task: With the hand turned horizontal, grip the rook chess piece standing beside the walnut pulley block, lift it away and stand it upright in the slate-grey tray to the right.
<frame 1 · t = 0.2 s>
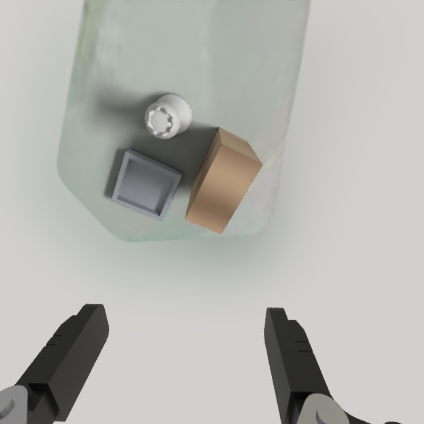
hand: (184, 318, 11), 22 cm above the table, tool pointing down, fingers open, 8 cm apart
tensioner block: (219, 163, 30), on the table
rook chess piece: (174, 114, 27), on the table
tray: (148, 184, 31), on the table
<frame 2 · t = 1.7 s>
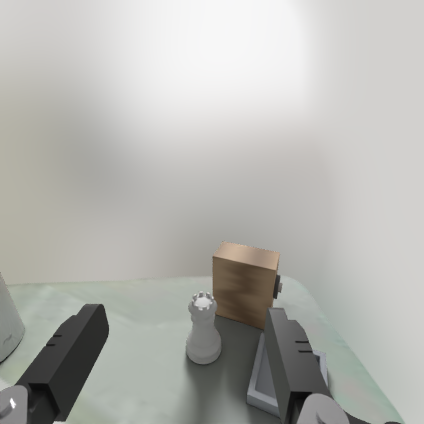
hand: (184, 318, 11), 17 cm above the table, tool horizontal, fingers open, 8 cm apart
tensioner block: (242, 311, 33), on the table
rook chess piece: (203, 350, 28), on the table
tray: (287, 380, 25), on the table
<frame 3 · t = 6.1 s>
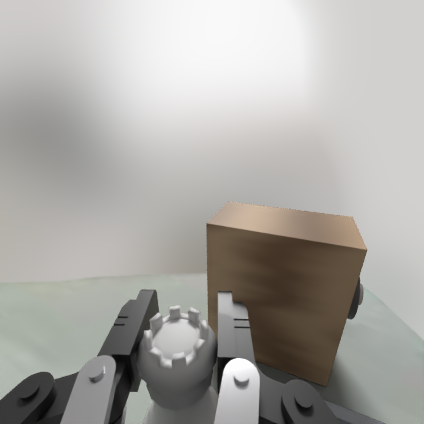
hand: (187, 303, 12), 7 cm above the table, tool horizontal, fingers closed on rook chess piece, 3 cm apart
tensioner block: (266, 339, 17), on the table
when the fingers open (8 cm above the table, at t = 10.3 s): rook chess piece stays where it is, resting on tray.
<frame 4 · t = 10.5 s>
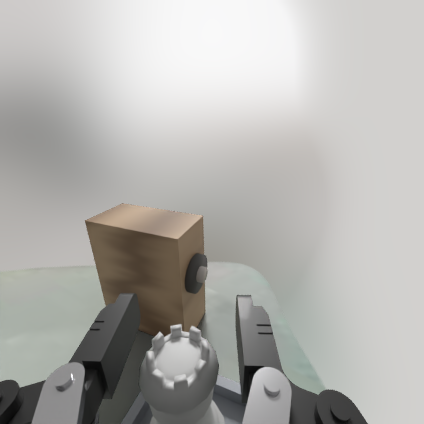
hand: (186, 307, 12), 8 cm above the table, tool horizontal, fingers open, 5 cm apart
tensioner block: (157, 315, 21), on the table
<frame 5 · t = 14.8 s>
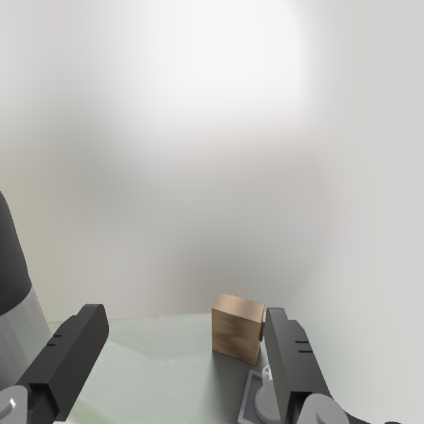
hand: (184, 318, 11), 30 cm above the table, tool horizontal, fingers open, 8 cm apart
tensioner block: (236, 347, 42), on the table
rook chess piece: (269, 409, 32), resting on tray
tray: (268, 409, 33), on the table
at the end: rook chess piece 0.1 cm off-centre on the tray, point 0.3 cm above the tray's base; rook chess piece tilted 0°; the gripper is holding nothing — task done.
